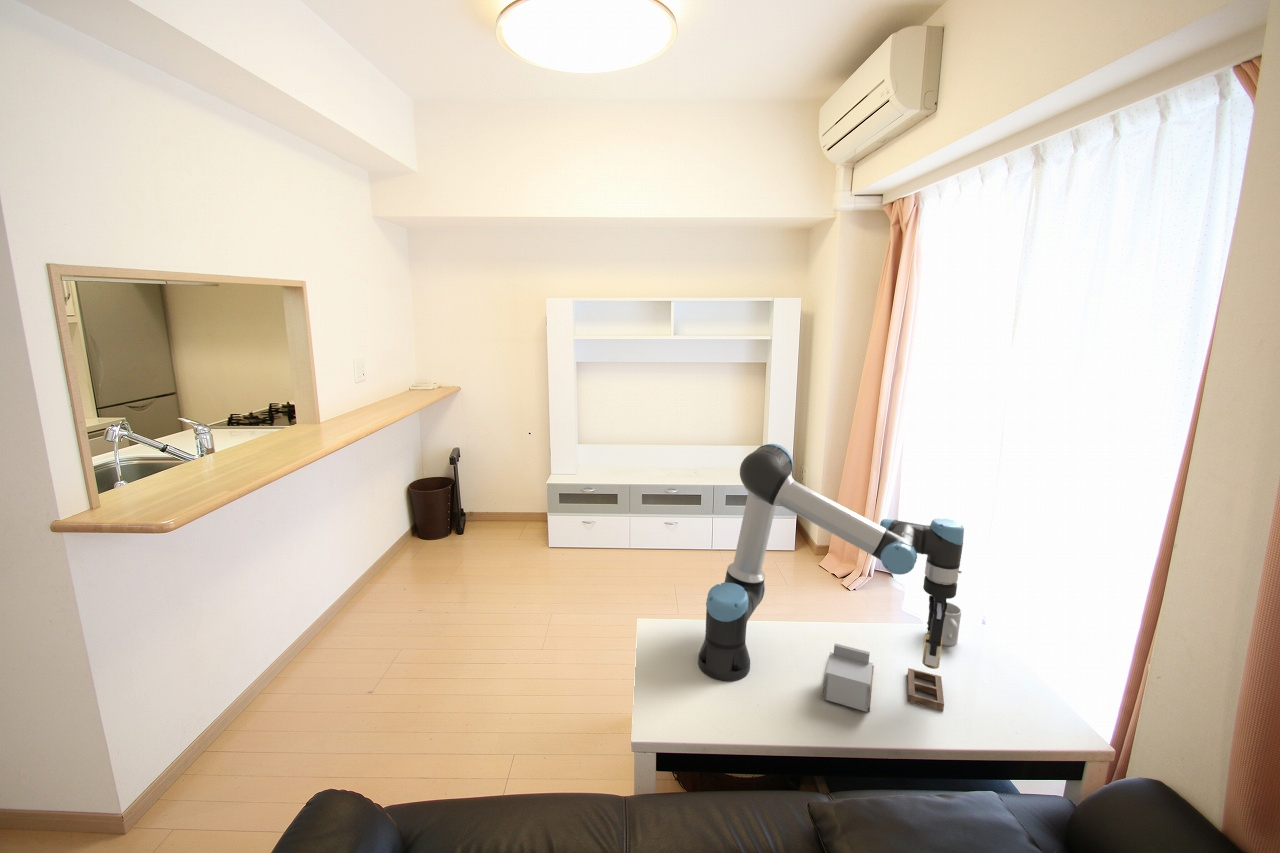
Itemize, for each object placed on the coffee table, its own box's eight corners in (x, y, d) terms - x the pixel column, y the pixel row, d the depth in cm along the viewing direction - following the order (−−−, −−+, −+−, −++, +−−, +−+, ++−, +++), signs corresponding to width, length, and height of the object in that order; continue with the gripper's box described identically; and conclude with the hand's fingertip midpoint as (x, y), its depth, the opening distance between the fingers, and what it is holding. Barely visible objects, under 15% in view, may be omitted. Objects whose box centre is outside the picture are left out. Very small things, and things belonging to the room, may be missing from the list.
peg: (922, 666, 146) (925, 638, 144) (921, 658, 149) (925, 631, 148) (939, 670, 144) (943, 642, 143) (938, 662, 148) (941, 634, 146)
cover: (823, 698, 146) (826, 662, 144) (827, 677, 155) (830, 642, 152) (867, 711, 141) (871, 674, 139) (869, 689, 150) (873, 653, 148)
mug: (922, 630, 182) (926, 600, 180) (949, 632, 181) (953, 601, 179) (939, 651, 170) (943, 619, 168) (967, 653, 170) (972, 621, 168)
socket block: (907, 701, 148) (908, 694, 147) (907, 674, 159) (908, 668, 159) (943, 710, 144) (944, 704, 144) (940, 682, 156) (941, 676, 155)
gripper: (960, 596, 133) (948, 682, 138) (954, 568, 148) (944, 646, 153) (925, 589, 136) (915, 673, 141) (923, 563, 151) (914, 640, 156)
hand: (930, 659), depth 147 cm, fingers closed on peg, 4 cm apart
